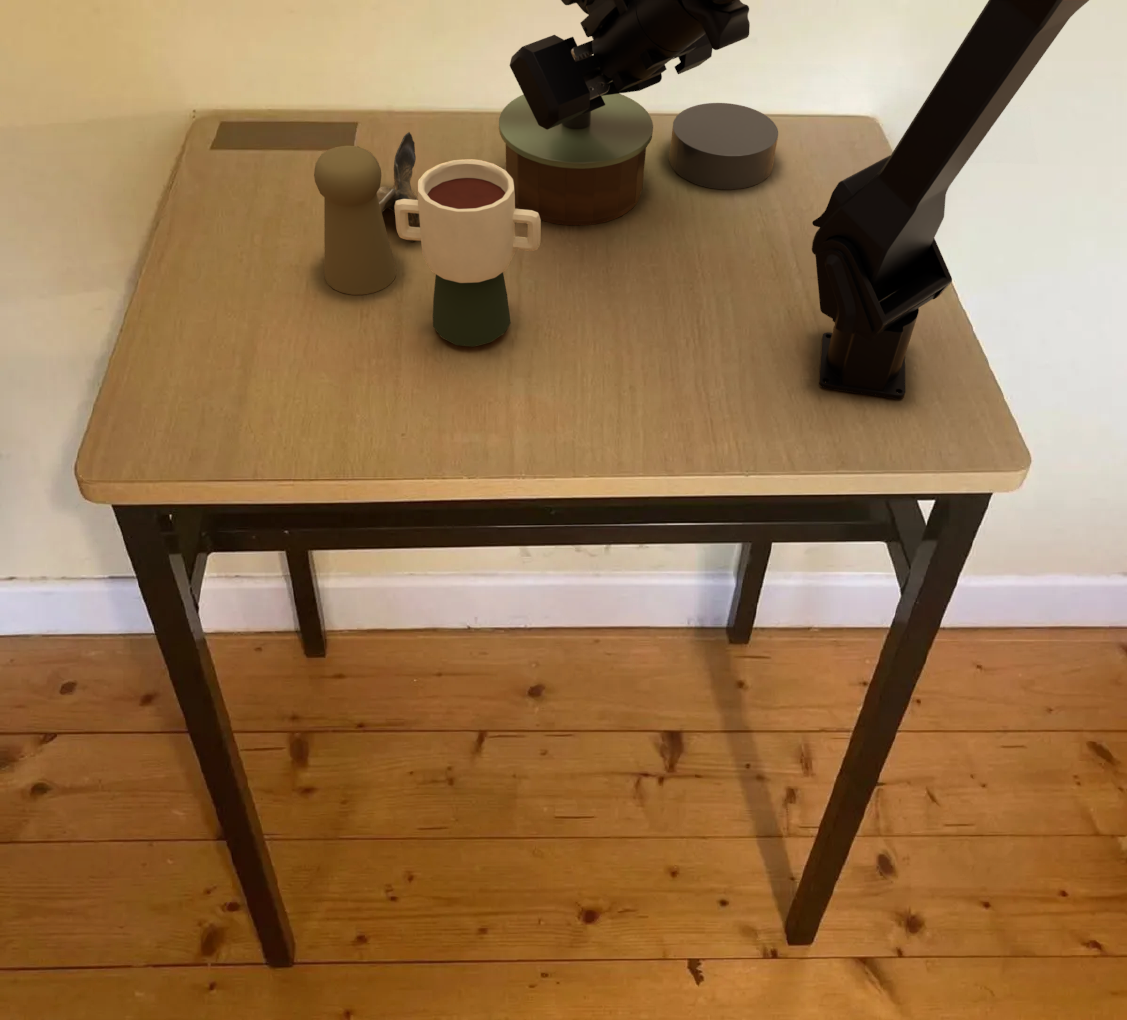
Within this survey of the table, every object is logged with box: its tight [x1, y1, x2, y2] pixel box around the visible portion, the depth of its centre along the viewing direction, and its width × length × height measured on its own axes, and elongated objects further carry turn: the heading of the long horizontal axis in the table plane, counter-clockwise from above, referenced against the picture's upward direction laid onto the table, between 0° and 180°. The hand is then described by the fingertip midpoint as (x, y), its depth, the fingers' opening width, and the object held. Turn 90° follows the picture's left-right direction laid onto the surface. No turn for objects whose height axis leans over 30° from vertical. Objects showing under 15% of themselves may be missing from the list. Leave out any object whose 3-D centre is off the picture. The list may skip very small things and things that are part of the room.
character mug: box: [394, 158, 542, 348], centre depth 85 cm, size 11×7×13 cm, turn 83°
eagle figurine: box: [377, 131, 420, 243], centre depth 98 cm, size 8×7×9 cm
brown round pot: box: [504, 143, 647, 226], centre depth 102 cm, size 13×13×6 cm
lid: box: [498, 93, 654, 169], centre depth 98 cm, size 14×14×6 cm
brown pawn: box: [313, 145, 397, 296], centre depth 91 cm, size 6×6×11 cm
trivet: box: [669, 102, 779, 190], centre depth 107 cm, size 10×10×4 cm
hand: (566, 97), depth 99 cm, fingers closed on lid, 3 cm apart
